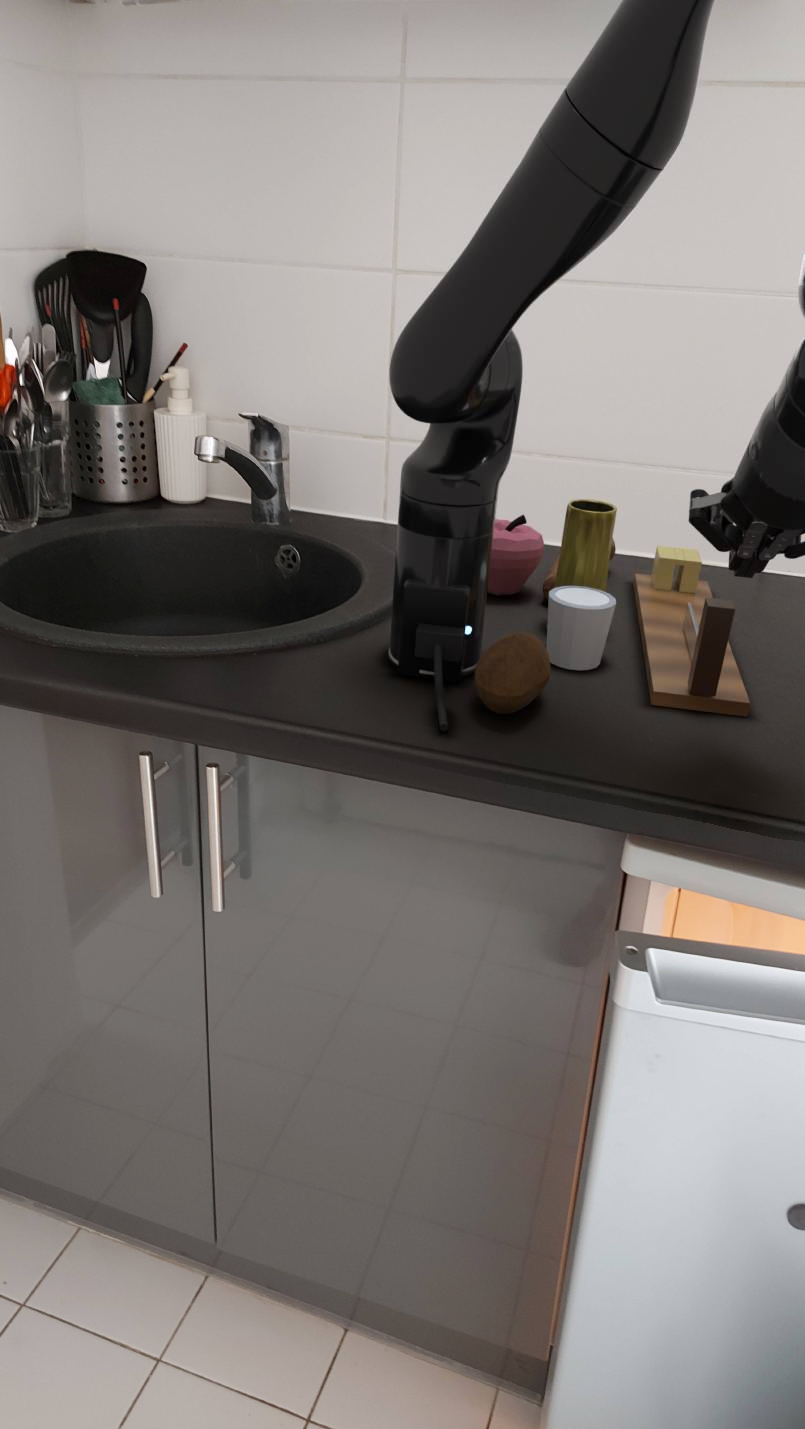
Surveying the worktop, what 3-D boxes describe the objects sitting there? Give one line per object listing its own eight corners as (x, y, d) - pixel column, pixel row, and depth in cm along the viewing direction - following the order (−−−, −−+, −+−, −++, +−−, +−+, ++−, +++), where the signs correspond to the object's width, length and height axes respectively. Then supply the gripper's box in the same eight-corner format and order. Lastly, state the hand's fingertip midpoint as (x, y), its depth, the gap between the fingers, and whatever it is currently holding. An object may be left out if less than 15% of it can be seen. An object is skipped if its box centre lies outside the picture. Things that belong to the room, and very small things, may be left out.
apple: (523, 579, 127) (532, 501, 123) (549, 604, 120) (560, 522, 115) (451, 581, 125) (458, 502, 120) (472, 606, 118) (481, 523, 113)
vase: (550, 640, 110) (569, 511, 103) (541, 620, 115) (558, 496, 109) (606, 643, 110) (627, 515, 104) (594, 622, 116) (614, 499, 109)
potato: (458, 724, 90) (465, 653, 87) (485, 675, 100) (492, 609, 97) (533, 738, 89) (542, 666, 86) (552, 687, 99) (562, 621, 96)
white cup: (565, 676, 101) (575, 611, 98) (527, 651, 107) (535, 588, 104) (619, 667, 104) (630, 603, 101) (579, 642, 110) (589, 581, 107)
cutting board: (746, 717, 96) (750, 702, 95) (650, 705, 97) (653, 691, 96) (704, 592, 128) (707, 581, 127) (633, 584, 129) (635, 573, 128)
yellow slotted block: (695, 593, 122) (702, 562, 121) (653, 588, 123) (659, 557, 121) (691, 580, 127) (697, 549, 125) (651, 576, 127) (656, 545, 125)
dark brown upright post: (715, 696, 95) (735, 608, 91) (689, 693, 95) (708, 605, 91) (695, 626, 111) (711, 549, 107) (673, 623, 112) (688, 547, 108)
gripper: (908, 412, 69) (824, 536, 85) (711, 394, 70) (665, 520, 87) (909, 508, 67) (822, 616, 83) (705, 488, 68) (659, 599, 84)
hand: (742, 567), depth 85 cm, fingers closed
